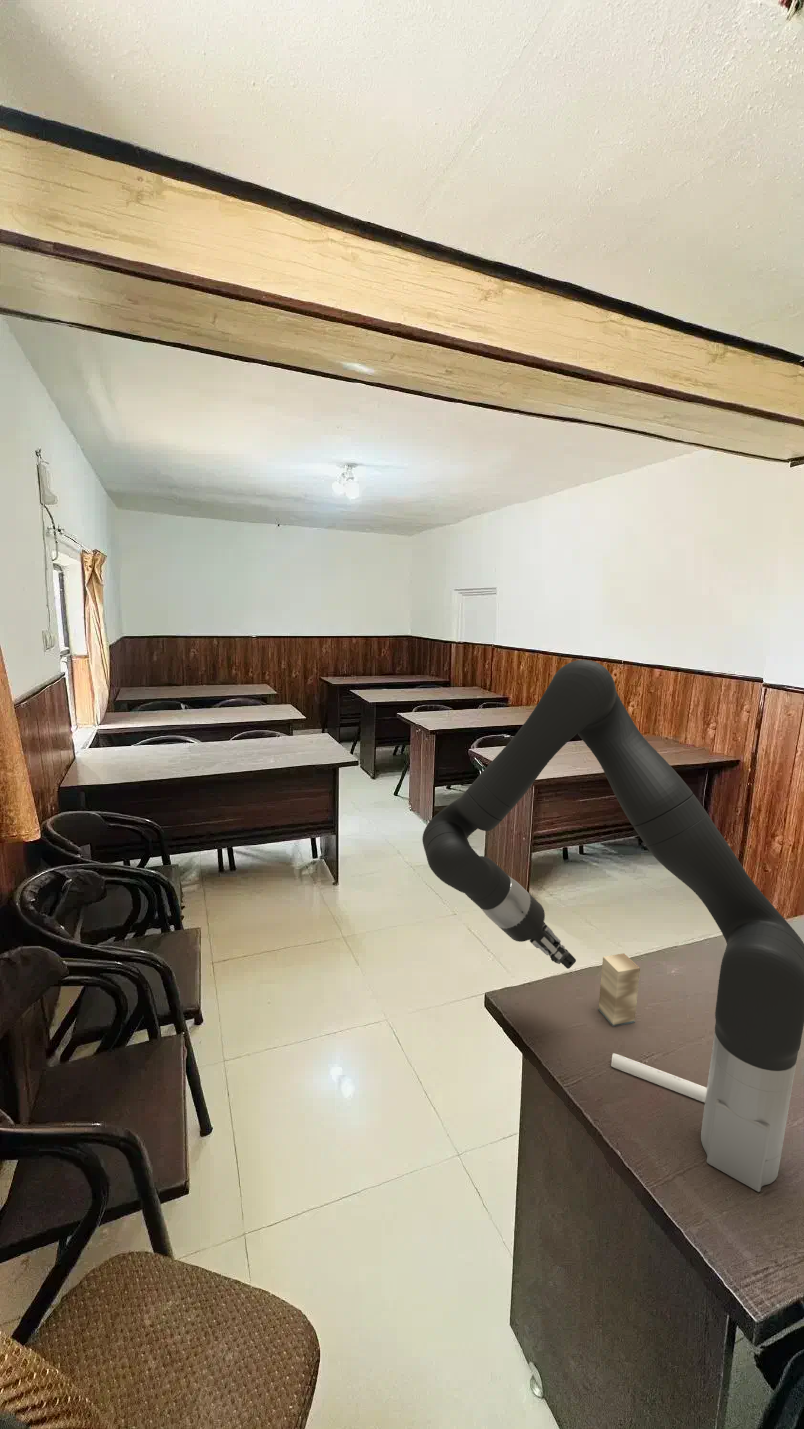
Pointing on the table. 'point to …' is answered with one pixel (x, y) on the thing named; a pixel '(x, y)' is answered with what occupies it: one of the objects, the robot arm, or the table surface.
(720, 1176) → the table surface
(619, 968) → the beech block
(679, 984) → the table surface
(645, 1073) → the marker
